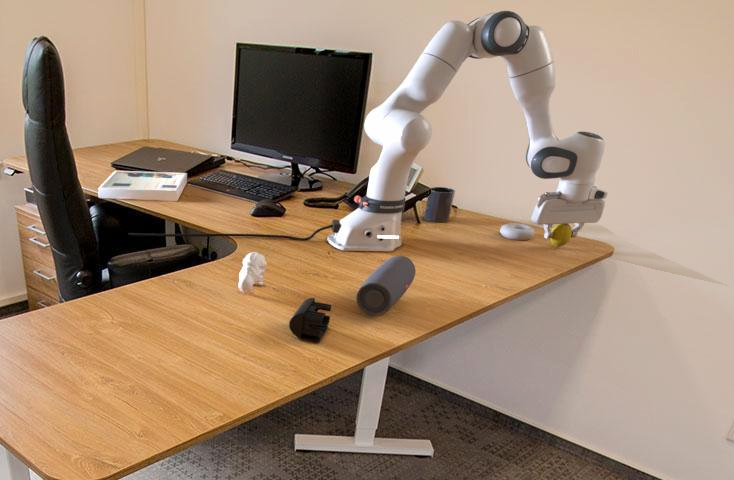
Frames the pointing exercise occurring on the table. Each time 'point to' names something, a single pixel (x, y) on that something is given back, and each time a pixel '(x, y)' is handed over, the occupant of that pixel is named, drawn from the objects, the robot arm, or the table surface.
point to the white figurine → (252, 271)
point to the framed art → (143, 185)
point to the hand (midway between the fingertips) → (559, 237)
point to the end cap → (310, 321)
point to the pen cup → (439, 204)
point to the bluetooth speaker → (386, 285)
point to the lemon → (561, 235)
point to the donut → (517, 231)
